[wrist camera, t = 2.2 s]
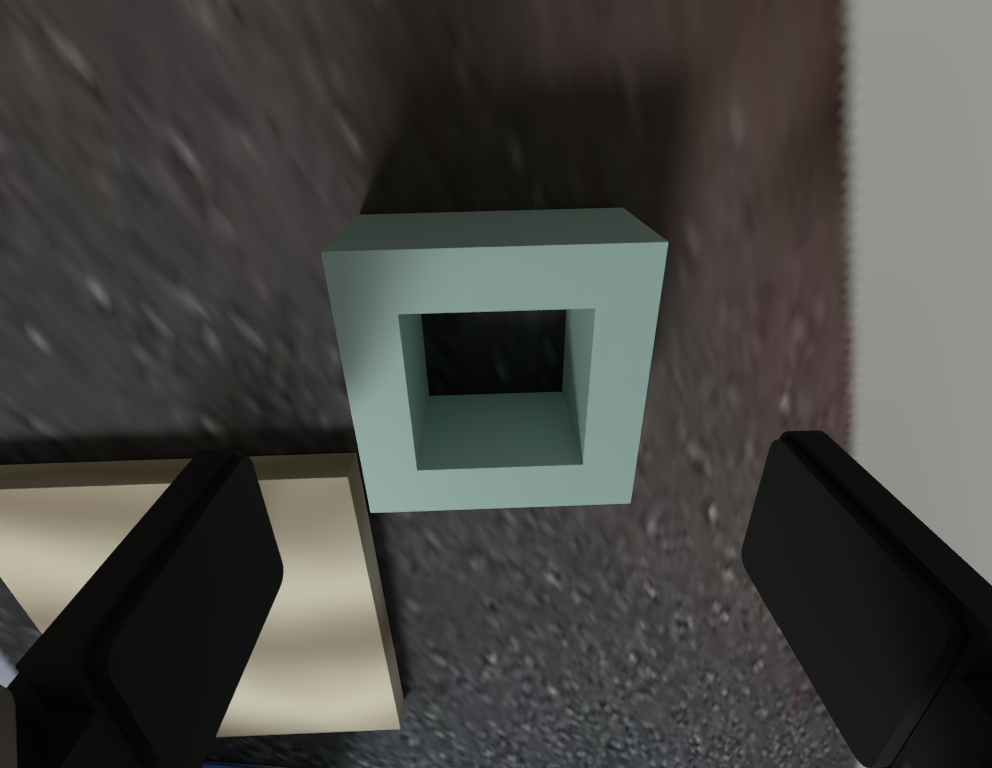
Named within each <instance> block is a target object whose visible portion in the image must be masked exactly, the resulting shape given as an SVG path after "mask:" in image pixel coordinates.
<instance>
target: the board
mask: <svg viewBox="0 0 992 768" xmlns="http://www.w3.org/2000/svg"><path fill="white" fill-rule="evenodd" d="M247 457H249V458H250V459H251V460H252V462H253V465H254V469H255V472H256V475H257V479H258V482H259V485H260V489H261V492H262V495H263V499H264V502H265V505H266V509H267V512H268V515H269V519H270V522H271V525H272V529H273V532H274V535H275V539H276V542H277V545H278V549H279V552H280V555H281V559H282V562H283V567H284V573H283V580H282V584H281V587H280V589H279V591H278V594H277V596H276V598H275V601H274V603H273V605H272V608H271V610H270V612H269V615H268V617H267V619H266V622H265V624H264V626H263V628H262V631H261V633H260V635H259V638H258V640H257V642H256V645H255V647H254V649H253V652H252V654H251V656H250V659H249V661H248V663H247V666H246V668H245V670H244V672H243V675H242V677H241V679H240V682H239V684H238V686H237V689H236V691H235V693H234V696H233V698H232V700H231V703H230V705H229V707H228V710H227V712H226V714H225V716H224V719H223V721H222V723H221V726H220V728H219V730H218V733H217V735H216V737H233V736H256V735H278V734H301V733H324V732H347V731H370V730H392V729H401V721H402V713H403V705H404V698H403V692H402V687H401V682H400V677H399V672H398V667H397V661H396V656H395V651H394V646H393V641H392V636H391V631H390V625H389V620H388V615H387V610H386V605H385V600H384V594H383V589H382V584H381V579H380V574H379V569H378V563H377V558H376V553H375V548H374V543H373V538H372V532H371V527H370V522H369V517H368V512H367V507H366V501H365V496H364V491H363V486H362V481H361V476H360V471H359V465H358V460H357V455H356V453H333V454H304V455H276V456H247ZM191 460H192V458H189V459H161V460H132V461H103V462H75V463H46V464H17V465H0V577H1V578H2V580H3V581H4V583H5V584H6V585H7V587H8V588H9V589H10V591H11V592H12V593H13V595H14V596H15V598H16V599H17V600H18V602H19V603H20V604H21V606H22V607H23V609H24V610H25V611H26V613H27V614H28V615H29V617H30V618H31V619H32V621H33V622H34V624H35V625H36V626H37V628H38V629H39V630H40V632H41V633H42V634H43V633H44V632H45V630H46V629H47V628H48V627H49V626H50V625H51V623H52V622H53V621H54V620H55V619H56V618H57V616H58V615H59V614H60V613H61V612H62V611H63V609H64V608H65V607H66V606H67V605H68V604H69V602H70V601H71V600H72V599H73V598H74V596H75V595H76V594H77V593H78V592H79V591H80V589H81V588H82V587H83V586H84V585H85V584H86V582H87V581H88V580H89V579H90V578H91V577H92V575H93V574H94V573H95V572H96V571H97V570H98V568H99V567H100V566H101V565H102V564H103V563H104V561H105V560H106V559H107V558H108V557H109V556H110V554H111V553H112V552H113V551H114V550H115V549H116V547H117V546H118V545H119V544H120V543H121V541H122V540H123V539H124V538H125V537H126V536H127V534H128V533H129V532H130V531H131V530H132V529H133V527H134V526H135V525H136V524H137V523H138V522H139V520H140V519H141V518H142V517H143V516H144V515H145V513H146V512H147V511H148V510H149V509H150V508H151V506H152V505H153V504H154V503H155V502H156V501H157V499H158V498H159V497H160V496H161V495H162V493H163V492H164V491H165V490H166V489H167V488H168V486H169V485H170V484H171V483H172V482H173V481H174V479H175V478H176V477H177V476H178V475H179V474H180V472H181V471H182V470H183V469H184V468H185V467H186V465H187V464H188V463H189V462H190V461H191Z"/></svg>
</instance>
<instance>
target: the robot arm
mask: <svg viewBox="0 0 992 768" xmlns="http://www.w3.org/2000/svg"><path fill="white" fill-rule="evenodd" d="M742 561H743V565H744V567H745V569H746V571H747V573H748V575H749V577H750V578H751V580H752V582H753V583H754V585H755V587H756V589H757V590H758V592H759V594H760V595H761V597H762V599H763V601H764V602H765V604H766V606H767V607H768V609H769V611H770V613H771V614H772V616H773V618H774V619H775V621H776V623H777V625H778V626H779V628H780V630H781V631H782V633H783V635H784V637H785V638H786V640H787V642H788V643H789V645H790V647H791V649H792V650H793V652H794V654H795V655H796V657H797V659H798V661H799V662H800V664H801V666H802V667H803V669H804V671H805V673H806V674H807V676H808V678H809V679H810V681H811V683H812V685H813V686H814V688H815V690H816V691H817V693H818V695H819V697H820V698H821V700H822V702H823V703H824V705H825V707H826V709H827V710H828V712H829V714H830V715H831V717H832V719H833V721H834V722H835V724H836V726H837V727H838V729H839V731H840V733H841V734H842V736H843V738H844V739H845V741H846V743H847V745H848V746H849V748H850V750H851V751H852V753H853V755H854V756H855V757H856V759H857V760H858V761H859V762H860V763H861V764H862V765H863V766H865V767H867V768H992V586H991V585H990V584H989V583H988V582H987V581H986V580H985V579H984V578H983V577H982V576H981V575H979V574H978V573H977V572H976V571H975V570H974V569H973V568H972V567H971V566H970V565H969V564H968V563H966V562H965V561H964V560H963V559H962V558H961V557H960V556H959V555H958V554H957V553H955V552H954V551H953V550H952V549H951V548H950V547H949V546H948V545H947V544H946V543H944V542H943V541H942V540H941V539H940V538H939V537H938V536H937V535H936V534H935V533H934V532H933V531H932V530H930V529H929V528H928V527H927V526H926V525H925V524H924V523H923V522H922V521H921V520H920V519H918V518H917V517H916V516H915V515H914V514H913V513H912V512H911V511H910V510H909V509H908V508H906V507H905V506H904V505H903V504H902V503H901V502H900V501H899V500H897V498H895V497H894V496H893V495H892V494H891V493H890V492H889V491H888V490H887V489H886V488H884V487H883V486H882V485H881V484H880V483H879V482H878V481H877V480H876V479H875V478H874V477H873V476H872V475H870V474H869V473H868V472H867V471H866V470H865V469H864V468H863V467H862V466H861V465H860V464H858V463H857V462H856V461H855V460H854V459H853V458H852V457H851V456H850V455H849V454H848V453H846V452H845V451H844V450H843V449H842V448H841V447H840V446H839V445H838V444H837V443H836V442H834V441H833V440H832V439H831V438H830V437H829V436H828V435H827V434H825V433H824V432H822V431H818V430H813V431H787V432H784V433H783V434H782V435H781V436H780V438H779V440H775V441H773V442H772V444H771V446H770V449H769V452H768V456H767V460H766V463H765V467H764V470H763V474H762V478H761V481H760V485H759V489H758V492H757V496H756V499H755V503H754V507H753V510H752V514H751V517H750V521H749V525H748V528H747V532H746V536H745V539H744V543H743V546H742ZM283 573H284V567H283V562H282V559H281V555H280V552H279V549H278V545H277V542H276V539H275V535H274V532H273V529H272V525H271V522H270V519H269V515H268V512H267V509H266V505H265V502H264V499H263V495H262V492H261V489H260V485H259V482H258V479H257V475H256V472H255V469H254V465H253V462H252V460H251V459H250V458H249V457H247V456H243V455H242V453H241V452H240V451H239V450H238V449H235V448H231V449H204V450H200V451H199V452H198V453H197V454H196V455H195V456H194V457H193V458H192V460H191V461H190V462H189V463H188V464H187V465H186V467H185V468H184V469H183V470H182V471H181V472H180V474H179V475H178V476H177V477H176V478H175V479H174V481H173V482H172V483H171V484H170V485H169V486H168V488H167V489H166V490H165V491H164V492H163V493H162V495H161V496H160V497H159V498H158V499H157V501H156V502H155V503H154V504H153V505H152V506H151V508H150V509H149V510H148V511H147V512H146V513H145V515H144V516H143V517H142V518H141V519H140V520H139V522H138V523H137V524H136V525H135V526H134V527H133V529H132V530H131V531H130V532H129V533H128V534H127V536H126V537H125V538H124V539H123V540H122V541H121V543H120V544H119V545H118V546H117V547H116V549H115V550H114V551H113V552H112V553H111V554H110V556H109V557H108V558H107V559H106V560H105V561H104V563H103V564H102V565H101V566H100V567H99V568H98V570H97V571H96V572H95V573H94V574H93V575H92V577H91V578H90V579H89V580H88V581H87V582H86V584H85V585H84V586H83V587H82V588H81V589H80V591H79V592H78V593H77V594H76V595H75V596H74V598H73V599H72V600H71V601H70V602H69V604H68V605H67V606H66V607H65V608H64V609H63V611H62V612H61V613H60V614H59V615H58V616H57V618H56V619H55V620H54V621H53V622H52V623H51V625H50V626H49V627H48V628H47V629H46V630H45V632H44V633H43V634H42V635H41V636H40V637H39V639H38V640H37V641H36V642H35V643H34V644H33V646H32V647H31V648H30V649H29V650H28V652H27V653H26V654H25V655H24V656H23V657H22V659H21V660H20V661H19V662H18V663H17V664H16V666H15V667H16V668H17V669H18V671H19V674H18V675H17V676H16V677H15V678H14V680H13V681H12V682H11V683H10V684H9V686H8V687H7V688H5V687H3V686H2V685H0V768H202V767H203V765H204V763H205V760H206V758H207V756H208V754H209V751H210V749H211V747H212V744H213V742H214V740H215V737H216V735H217V733H218V730H219V728H220V726H221V723H222V721H223V719H224V716H225V714H226V712H227V710H228V707H229V705H230V703H231V700H232V698H233V696H234V693H235V691H236V689H237V686H238V684H239V682H240V679H241V677H242V675H243V672H244V670H245V668H246V666H247V663H248V661H249V659H250V656H251V654H252V652H253V649H254V647H255V645H256V642H257V640H258V638H259V635H260V633H261V631H262V628H263V626H264V624H265V622H266V619H267V617H268V615H269V612H270V610H271V608H272V605H273V603H274V601H275V598H276V596H277V594H278V591H279V589H280V587H281V584H282V580H283Z"/></svg>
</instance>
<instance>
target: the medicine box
mask: <svg viewBox="0 0 992 768" xmlns="http://www.w3.org/2000/svg"><path fill="white" fill-rule="evenodd" d="M202 768H288V767H277V766H265V765H251V764H238V763H225V762H212V761H205V763H204V765H203V767H202Z"/></svg>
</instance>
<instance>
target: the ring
mask: <svg viewBox="0 0 992 768" xmlns="http://www.w3.org/2000/svg"><path fill="white" fill-rule="evenodd" d="M667 249H668V241H667V240H665V239H664V238H663V237H661V236H660V235H659V234H657V233H656V232H655V231H653V230H652V229H651V228H649V227H648V226H647V225H645V224H644V223H643V222H641V221H640V220H639V219H637V218H636V217H635V216H633V215H632V214H631V213H629V212H628V211H627V210H626V209H624V208H588V209H551V210H514V211H477V212H440V213H403V214H366V215H358V216H357V217H356V218H355V219H354V220H353V221H352V222H351V223H350V224H349V225H348V226H347V227H346V228H345V229H344V230H343V231H342V232H341V233H340V234H338V235H337V236H336V237H335V238H334V239H333V240H332V241H331V242H330V243H329V244H328V245H327V246H326V247H325V248H324V249H323V250H322V251H321V256H322V261H323V266H324V271H325V277H326V282H327V287H328V292H329V298H330V303H331V308H332V314H333V319H334V324H335V329H336V335H337V340H338V345H339V350H340V356H341V361H342V366H343V371H344V377H345V382H346V387H347V392H348V398H349V403H350V408H351V413H352V419H353V424H354V429H355V434H356V440H357V445H358V450H359V455H360V461H361V466H362V471H363V476H364V482H365V487H366V492H367V497H368V503H369V508H370V513H382V512H409V511H436V510H463V509H490V508H517V507H544V506H572V505H599V504H626V503H631V497H632V490H633V483H634V476H635V469H636V462H637V455H638V449H639V442H640V435H641V428H642V421H643V414H644V407H645V400H646V394H647V387H648V380H649V373H650V366H651V359H652V352H653V345H654V339H655V332H656V325H657V318H658V311H659V304H660V297H661V291H662V284H663V277H664V270H665V263H666V256H667ZM558 309H566V323H565V343H564V363H563V383H562V392H538V393H508V394H477V395H447V396H429V388H428V378H427V368H426V358H425V348H424V338H423V328H422V318H421V314H427V313H460V312H493V311H526V310H558Z"/></svg>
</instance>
